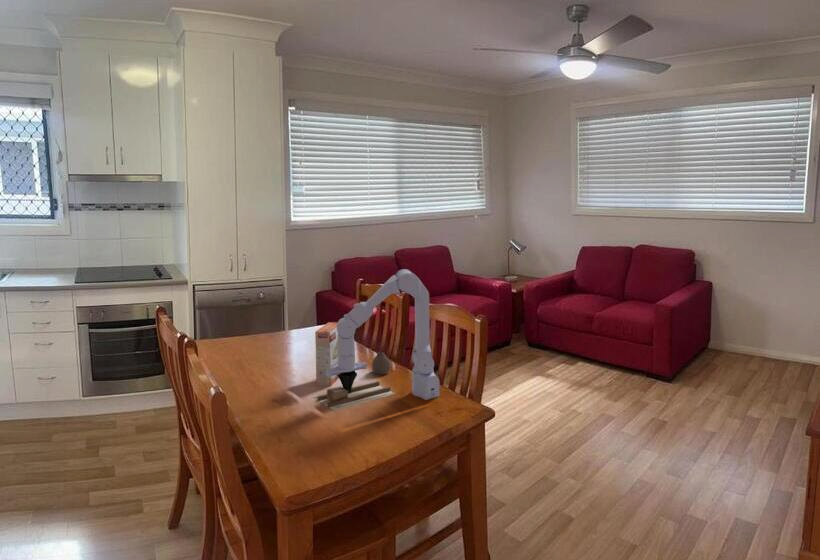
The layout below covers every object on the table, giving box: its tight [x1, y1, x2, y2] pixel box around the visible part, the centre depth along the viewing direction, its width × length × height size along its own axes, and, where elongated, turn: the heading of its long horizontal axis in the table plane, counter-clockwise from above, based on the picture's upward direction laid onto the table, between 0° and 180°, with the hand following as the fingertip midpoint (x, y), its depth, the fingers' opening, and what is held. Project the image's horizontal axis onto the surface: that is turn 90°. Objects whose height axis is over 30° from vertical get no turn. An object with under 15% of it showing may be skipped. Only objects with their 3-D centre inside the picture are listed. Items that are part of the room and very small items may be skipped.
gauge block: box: [326, 385, 348, 402], centre depth 191 cm, size 5×5×4 cm
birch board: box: [313, 381, 396, 411], centre depth 195 cm, size 14×24×2 cm, turn 126°
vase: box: [371, 351, 391, 376], centre depth 217 cm, size 7×7×9 cm
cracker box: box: [314, 321, 339, 387], centre depth 209 cm, size 14×6×21 cm, turn 168°
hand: (347, 392), depth 193 cm, fingers closed
